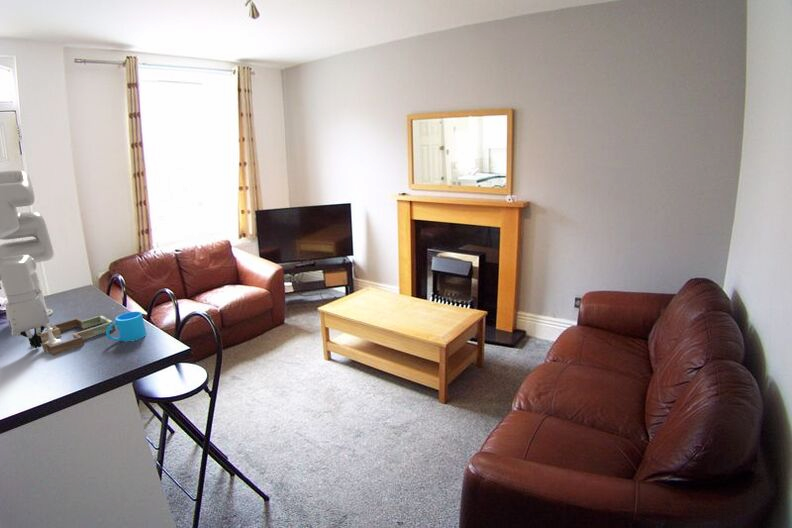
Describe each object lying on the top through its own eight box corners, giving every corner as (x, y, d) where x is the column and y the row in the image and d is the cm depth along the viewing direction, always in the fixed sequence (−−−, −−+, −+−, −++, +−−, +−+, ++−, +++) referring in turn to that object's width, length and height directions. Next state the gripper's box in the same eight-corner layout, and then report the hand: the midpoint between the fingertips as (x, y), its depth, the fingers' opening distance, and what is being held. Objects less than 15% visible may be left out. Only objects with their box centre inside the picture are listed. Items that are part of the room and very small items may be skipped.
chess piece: (52, 347, 153) (44, 321, 150) (40, 346, 154) (32, 320, 151) (65, 341, 157) (57, 315, 154) (53, 340, 158) (46, 314, 155)
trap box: (29, 340, 159) (27, 332, 158) (97, 319, 176) (96, 312, 175) (49, 356, 146) (47, 348, 145) (121, 332, 163) (119, 324, 162)
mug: (141, 330, 164) (137, 309, 162) (149, 336, 159) (145, 315, 156) (105, 341, 156) (99, 320, 153) (112, 348, 150) (107, 326, 148)
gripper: (45, 288, 155) (59, 335, 160) (-10, 301, 143) (6, 352, 149) (52, 292, 150) (66, 341, 155) (-5, 306, 139) (12, 358, 144)
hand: (37, 346), depth 152 cm, fingers closed
